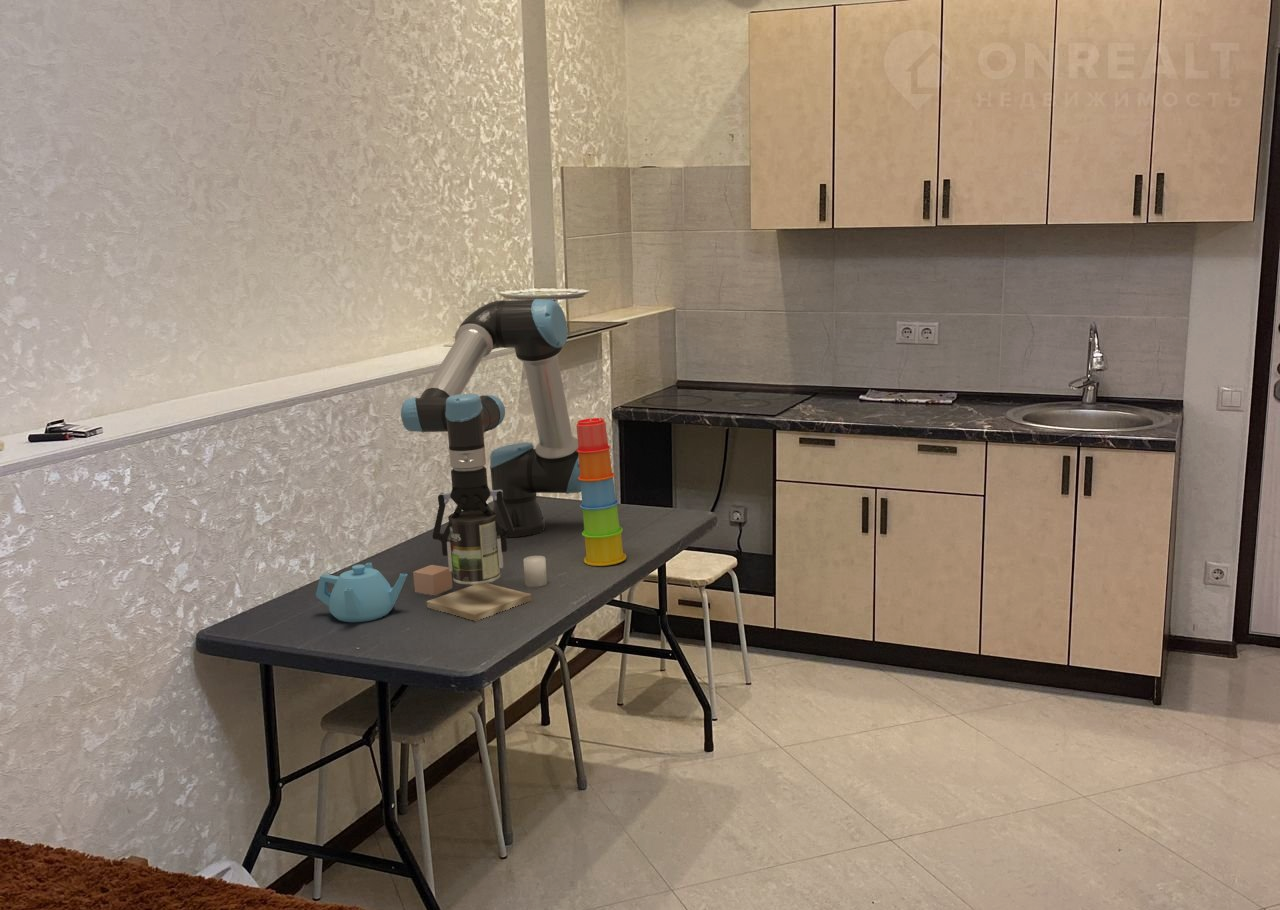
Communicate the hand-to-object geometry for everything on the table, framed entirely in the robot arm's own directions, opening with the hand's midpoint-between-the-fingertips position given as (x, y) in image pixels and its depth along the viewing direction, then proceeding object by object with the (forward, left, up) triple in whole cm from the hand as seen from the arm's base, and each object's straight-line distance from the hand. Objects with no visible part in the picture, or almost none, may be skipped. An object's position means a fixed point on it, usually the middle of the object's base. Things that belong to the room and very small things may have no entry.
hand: (476, 567), depth 253 cm
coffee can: (0, 0, -2) cm, 2 cm away
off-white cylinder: (-17, 0, -8) cm, 19 cm away
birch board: (0, 0, -8) cm, 8 cm away
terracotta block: (-1, -17, -8) cm, 19 cm away
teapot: (+18, -17, -9) cm, 26 cm away
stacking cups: (-39, +1, -9) cm, 40 cm away
